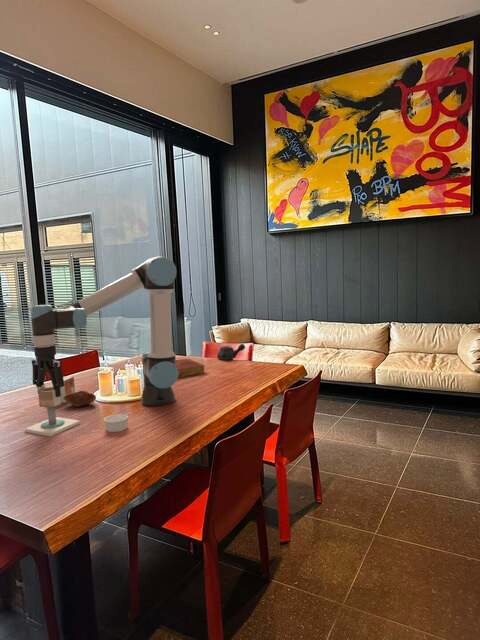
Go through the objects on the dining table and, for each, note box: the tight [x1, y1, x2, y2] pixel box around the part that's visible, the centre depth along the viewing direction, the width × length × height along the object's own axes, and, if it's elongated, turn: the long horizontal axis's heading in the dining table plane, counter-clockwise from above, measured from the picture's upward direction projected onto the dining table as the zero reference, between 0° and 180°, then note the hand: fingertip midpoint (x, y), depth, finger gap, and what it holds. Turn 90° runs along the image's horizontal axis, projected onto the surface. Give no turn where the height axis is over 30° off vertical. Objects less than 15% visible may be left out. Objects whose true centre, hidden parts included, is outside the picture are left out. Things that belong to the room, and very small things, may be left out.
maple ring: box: [37, 386, 54, 409], centre depth 166 cm, size 7×7×6 cm
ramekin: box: [103, 413, 129, 433], centre depth 163 cm, size 9×9×4 cm
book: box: [176, 358, 205, 379], centre depth 246 cm, size 30×24×5 cm
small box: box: [56, 376, 76, 404], centre depth 202 cm, size 8×6×10 cm
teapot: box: [216, 343, 246, 361], centre depth 277 cm, size 19×15×10 cm
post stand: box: [24, 406, 81, 438], centre depth 167 cm, size 14×14×9 cm
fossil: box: [63, 389, 97, 408], centre depth 192 cm, size 13×8×10 cm
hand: (50, 403), depth 166 cm, fingers closed on maple ring, 7 cm apart
